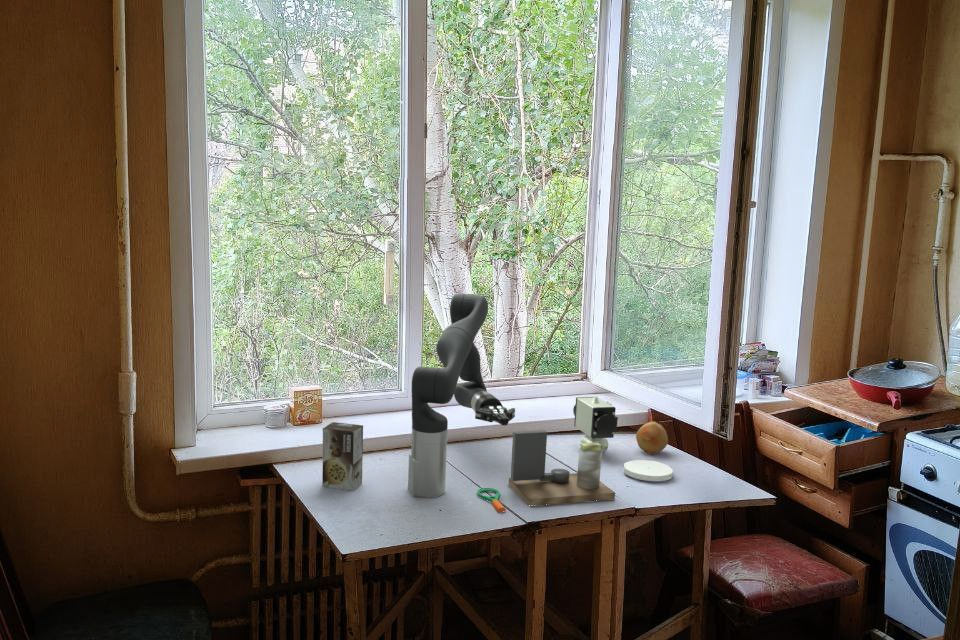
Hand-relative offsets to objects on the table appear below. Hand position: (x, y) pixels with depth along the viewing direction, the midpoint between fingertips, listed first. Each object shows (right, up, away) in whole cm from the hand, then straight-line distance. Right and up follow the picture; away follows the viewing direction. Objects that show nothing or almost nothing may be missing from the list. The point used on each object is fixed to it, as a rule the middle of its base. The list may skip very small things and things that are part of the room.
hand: (505, 422), depth 221 cm
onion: (+47, -13, +26) cm, 56 cm away
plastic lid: (+41, -17, +5) cm, 45 cm away
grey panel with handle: (+9, -15, -11) cm, 21 cm away
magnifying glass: (-4, -18, -21) cm, 28 cm away
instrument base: (+14, -17, -12) cm, 26 cm away
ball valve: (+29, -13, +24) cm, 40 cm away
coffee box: (-44, -15, -15) cm, 48 cm away
